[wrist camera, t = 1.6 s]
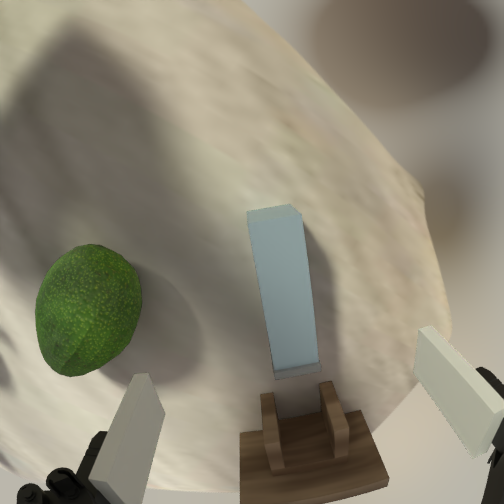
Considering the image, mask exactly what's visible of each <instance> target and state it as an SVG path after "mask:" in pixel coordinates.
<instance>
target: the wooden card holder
mask: <svg viewBox="0 0 504 504" xmlns="http://www.w3.org/2000/svg"><path fill="white" fill-rule="evenodd" d="M319 387H320V400H321V412H318V413H314V414H309V415H304V416H299V417H293V418H288V419H282V420H278V415H277V410H276V405H275V400H274V395H273V393H266V394H260V397H261V410H262V423H263V430H260V431H252V432H244V433H240V504H324V503H328V502H333V501H337V500H342V499H346V498H349V497H353V496H357V495H361V494H364V493H367V492H371V491H374V490H377V489H381V488H384V487H387V485H388V482H389V476H388V474H387V471H386V469H385V466H384V464H383V462H382V459H381V456H380V454H379V452H378V450H377V447H376V445H375V442H374V440H373V438H372V435H371V433H370V431H369V428H368V426H367V424H366V421H365V419H364V417H363V415H362V412H361V410H359V411H355V412H351V413H347V414H344V412H343V410H342V407H341V404H340V402H339V399H338V396H337V394H336V391H335V389H334V386H333V383H332V381H329V382H325V383H320V384H319Z"/></svg>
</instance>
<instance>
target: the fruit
mask: <svg viewBox="0 0 504 504" xmlns="http://www.w3.org/2000/svg"><path fill="white" fill-rule="evenodd" d="M141 306H142V297H141V287H140V282H139V278H138V276H137V273H136V271H135V269H134V268H133V267H132V266H131V265H130V264H129V263H128V262H127V261H126V260H125V259H124V258H123V257H122V256H121V255H120V254H118V253H116V252H114V251H112V250H110V249H108V248H106V247H104V246H102V245H94V244H88V245H83V246H78V247H76V248H74V249H72V250H71V251H69V252H67V253H66V254H64V255H63V256H62V257H61V258H59V259H58V260H57V261H56V262H55V263H54V265H53V266H52V267H51V268H50V269H49V270H48V272H47V274H46V276H45V278H44V280H43V283H42V285H41V287H40V290H39V293H38V296H37V299H36V309H35V318H36V331H37V337H38V342H39V347H40V350H41V353H42V355H43V358H44V360H45V361H46V363H47V364H48V365H49V366H50V367H51V368H52V369H53V370H54V371H55V372H57V373H58V374H61V375H65V376H69V377H74V376H81V375H85V374H87V373H89V372H91V371H94V370H96V369H99V368H100V367H102V366H103V365H105V364H106V363H107V362H109V361H110V360H112V359H113V358H114V357H116V356H117V355H119V354H120V353H121V352H122V351H123V349H124V348H125V347H126V346H127V345H128V344H129V342H130V340H131V338H132V335H133V333H134V331H135V328H136V325H137V322H138V319H139V315H140V311H141Z"/></svg>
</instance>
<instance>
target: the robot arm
mask: <svg viewBox="0 0 504 504" xmlns="http://www.w3.org/2000/svg"><path fill="white" fill-rule="evenodd" d="M413 373H414V374H415V376H416V377H417V379H418V380H419V381H420V383H421V384H422V386H423V387H424V388H425V390H426V391H427V392H428V394H429V395H430V396H431V398H432V400H433V401H434V402H435V404H436V405H437V407H438V408H439V410H440V411H441V412H442V414H443V415H444V417H445V418H446V419H447V421H448V423H449V424H450V426H451V427H452V428H453V430H454V431H455V433H456V434H457V436H458V437H459V439H460V440H461V442H462V443H463V445H464V446H465V448H466V449H467V451H468V452H469V454H470V455H471V457H472V459H474V458H476V457H478V456H480V455H482V454H484V453H486V452H487V451H488V449H489V447H490V445H491V443H492V444H493V445H494V446H495V449H494V451H493V453H492V455H491V456H490V458H489V460H488V462H487V463H490V461H491V460H492V461H491V467H490V471H489V475H488V479H487V484H486V488H485V491H484V496H483V499H482V502H481V504H504V385H503V384H502V382H500V380H499V379H497V378H496V376H495V375H494V374H493V373H492V372H491V371H489V370H487V369H485V368H483V367H479V368H476V369H474V368H473V367H472V366H471V364H470V363H469V362H468V361H467V360H466V359H465V358H464V357H463V356H462V355H461V354H460V353H459V352H458V351H457V350H456V349H455V348H454V347H453V346H452V345H451V344H450V343H449V342H448V341H447V340H446V339H445V338H444V337H443V336H442V335H441V334H440V333H439V332H438V331H437V330H436V329H435V328H433V327H432V326H431V325H430V326H427V327H423V328H420V329H418V339H417V348H416V356H415V363H414V370H413ZM164 417H165V411H164V409H163V407H162V404H161V402H160V400H159V397H158V395H157V393H156V390H155V388H154V385H153V383H152V380H151V378H150V375H149V373H136V374H134V376H133V378H132V380H131V382H130V384H129V386H128V388H127V391H126V393H125V395H124V397H123V399H122V402H121V404H120V406H119V408H118V410H117V413H116V415H115V417H114V419H113V422H112V424H111V426H110V428H109V431H99V432H98V433H97V434H96V435H95V436H94V437H93V438H92V440H91V442H90V444H89V447H88V449H87V451H86V453H85V456H84V457H83V460H82V462H81V464H80V466H79V468H78V471H77V473H76V475H75V474H74V472H73V471H72V470H70V469H68V468H63V467H62V468H57V469H55V470H53V471H52V472H51V473H50V474H49V475H48V476H47V479H46V486H47V487H48V488H49V489H50V491H43V490H42V489H41V488H40V487H39V486H38V485H36V484H32V483H29V484H26V485H24V486H22V487H21V488H20V490H19V491H18V494H17V504H142V501H143V497H144V492H145V489H146V485H147V481H148V477H149V473H150V469H151V465H152V461H153V457H154V454H155V450H156V446H157V442H158V439H159V435H160V431H161V428H162V424H163V420H164Z"/></svg>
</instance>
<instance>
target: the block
mask: <svg viewBox="0 0 504 504" xmlns="http://www.w3.org/2000/svg"><path fill="white" fill-rule="evenodd" d="M247 222H248V228H249V234H250V239H251V245H252V250H253V256H254V261H255V267H256V272H257V277H258V283H259V288H260V294H261V299H262V305H263V310H264V316H265V321H266V327H267V332H268V338H269V344H270V351H271V358H272V364H273V371H274V377H275V380H278V379H284V378H289V377H295V376H300V375H305V374H310V373H315V372H320V371H321V363H320V360H319V358H318V347H317V336H316V326H315V317H314V308H313V299H312V290H311V282H310V273H309V265H308V258H307V250H306V243H305V235H304V228H303V221H302V214H301V213H300V212H298V211H297V210H296V209H295V208H294V207H293V206H292V205H290V204H287V205H281V206H275V207H269V208H263V209H258V210H252V211H247Z"/></svg>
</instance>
